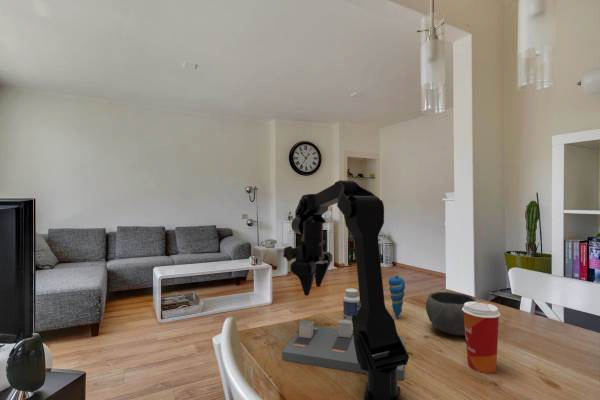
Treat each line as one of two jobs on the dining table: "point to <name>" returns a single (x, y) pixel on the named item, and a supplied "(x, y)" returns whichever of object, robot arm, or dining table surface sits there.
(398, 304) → the ornament
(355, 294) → the pill bottle
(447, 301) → the bowl
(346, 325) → the middle handle
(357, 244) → the robot arm
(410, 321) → the dining table surface
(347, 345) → the breaker panel
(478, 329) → the paper cup
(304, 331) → the handle
